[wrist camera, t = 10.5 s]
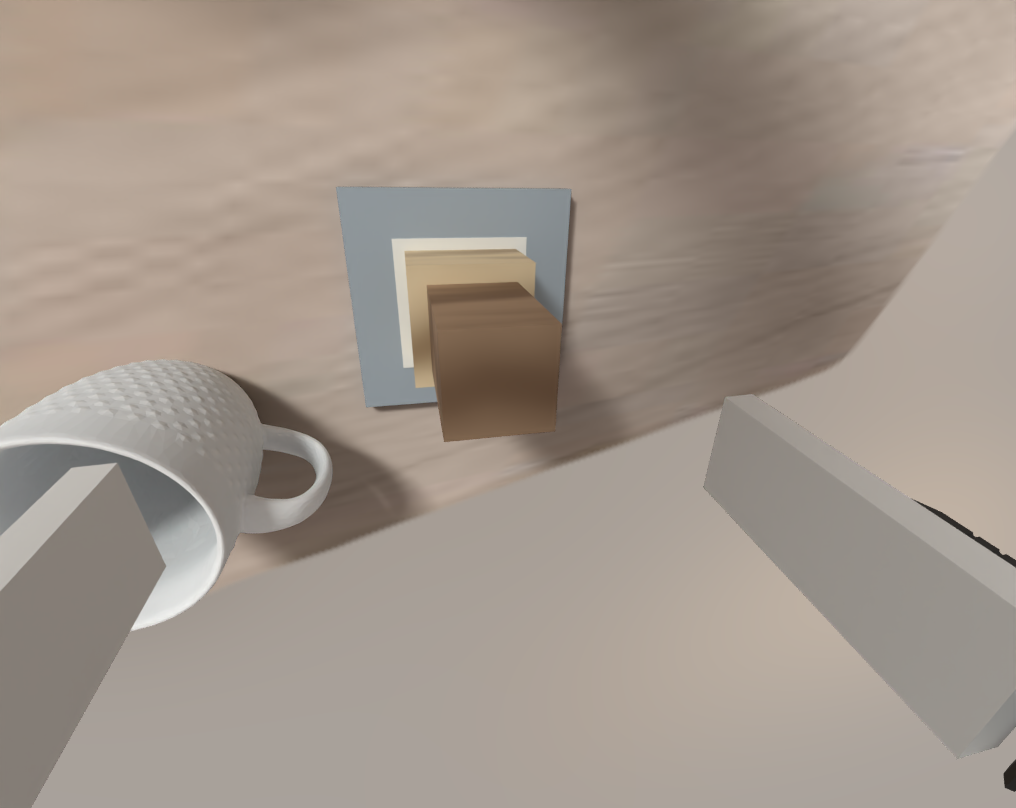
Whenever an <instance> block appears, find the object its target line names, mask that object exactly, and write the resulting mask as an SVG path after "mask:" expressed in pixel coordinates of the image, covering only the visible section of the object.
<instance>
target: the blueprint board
mask: <svg viewBox="0 0 1016 808" xmlns="http://www.w3.org/2000/svg"><path fill="white" fill-rule="evenodd" d="M336 190H337V198H338V205H339V212H340V220H341V227H342V234H343V242H344V249H345V256H346V264H347V271H348V278H349V286H350V293H351V300H352V307H353V315H354V322H355V329H356V337H357V344H358V351H359V359H360V366H361V373H362V381H363V388H364V395H365V403H366V407H377V406H390V405H403V404H415V403H428V402H437V397H436V391H435V387H423V388H416V387H415V375H414V363H413V351H412V338H411V326H410V314H409V302H408V289H407V277H406V265H405V252H404V251H420V250H478V249H517V250H518V251H520V252H521V253H522V254H524V255H525V256H527V257H528V258H530V259H531V260H533V261H534V262H536V270H535V295H534V298H535V299H536V300H537V301H538V302H539V303H540V304H542V305H543V306H544V307H545V308H546V309H547V310H548V311H549V312H550V313H551V314H552V315H553V316H554V317H555V318H556V319H557V320H558V321H559V322H560V323H562V320H563V305H564V290H565V276H566V261H567V246H568V232H569V217H570V202H571V189H549V188H428V187H336ZM561 334H562V333H561ZM560 349H561V348H560ZM559 364H560V363H559Z"/></svg>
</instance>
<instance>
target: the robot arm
mask: <svg viewBox="0 0 1016 808" xmlns="http://www.w3.org/2000/svg"><path fill="white" fill-rule="evenodd" d="M704 489H705V490H706V491H707V492H708V493H709V494H710V495H711V496H712V497H713V498H714V499H715V500H716V502H717V503H718V504H719V505H720V506H721V507H722V508H723V509H724V510H725V511H726V512H727V513H728V514H729V515H730V517H731V518H732V519H733V520H734V521H735V522H736V523H737V524H738V525H739V526H740V527H741V528H742V529H743V530H744V531H745V533H746V534H747V535H748V536H749V537H750V538H751V539H752V540H753V541H754V542H755V543H756V544H757V545H758V546H759V547H760V549H761V550H762V551H763V552H764V553H765V554H766V555H767V556H768V557H769V558H770V559H771V560H772V561H773V562H774V563H775V565H776V566H778V568H779V569H780V570H781V571H782V572H783V573H784V574H785V575H786V576H787V577H788V579H790V581H791V582H792V583H793V584H794V585H795V586H796V587H797V588H798V589H799V590H800V591H801V592H802V593H803V595H804V596H805V597H806V598H807V599H808V600H809V601H810V602H811V603H812V604H813V605H814V606H815V607H816V608H817V609H818V611H820V613H821V614H822V615H823V616H824V617H825V618H826V619H827V620H828V621H829V622H830V623H831V624H832V625H833V627H834V628H835V629H836V630H837V631H838V632H839V633H840V634H841V635H842V636H843V637H844V638H845V639H846V640H847V641H848V643H849V644H850V645H851V646H852V647H853V648H854V649H855V650H856V651H857V652H858V653H859V654H860V655H861V657H862V658H863V659H864V660H865V661H866V662H867V663H868V664H869V665H870V666H871V667H872V668H873V669H874V670H875V671H876V673H877V674H878V675H879V676H880V677H881V678H882V679H883V680H884V681H885V682H886V683H887V684H888V685H889V686H890V687H891V689H892V690H893V691H894V692H895V693H896V694H897V695H898V696H899V697H900V698H901V699H902V700H903V701H904V702H905V703H906V704H907V706H908V707H909V708H910V709H911V710H912V711H913V712H914V713H915V714H916V715H917V716H918V717H919V718H920V719H921V721H922V722H923V723H924V724H925V725H926V726H927V727H928V728H929V729H930V730H931V731H932V732H933V733H934V735H936V737H937V738H938V739H939V740H940V741H941V742H942V743H943V744H944V745H945V746H946V747H947V748H948V749H949V750H950V752H951V753H952V754H953V755H954V756H955V757H956V758H957V759H959V758H962V757H965V756H969V755H972V754H975V753H979V752H982V751H985V750H989V749H992V748H995V747H998V746H999V745H1000V744H1001V743H1002V741H1003V740H1004V739H1005V738H1006V737H1007V736H1008V735H1009V734H1010V733H1011V731H1012V730H1013V729H1014V728H1015V727H1016V560H1015V559H1013V558H1011V557H1010V556H1008V555H1006V554H1005V555H1002V554H1001V553H1000V552H999V549H998V548H996V547H995V546H993V545H991V544H990V543H988V542H987V541H985V540H984V539H982V538H981V537H975V536H973V532H971V531H970V530H968V529H967V528H965V527H964V526H962V525H960V524H959V523H958V522H956V521H954V520H953V519H951V518H950V517H948V516H947V515H945V514H943V513H942V512H940V511H938V510H936V509H933V508H931V507H929V506H927V505H924V504H922V503H920V502H918V501H915V500H913V499H911V498H909V497H908V496H906V495H905V494H903V493H902V492H900V491H899V490H897V489H896V488H894V487H893V486H891V485H890V484H888V483H887V482H885V481H884V480H882V479H881V478H879V477H878V476H876V475H875V474H873V473H871V472H870V471H868V470H867V469H865V468H864V467H862V466H861V465H859V464H858V463H856V462H855V461H853V460H852V459H850V458H849V457H847V456H846V455H844V454H843V453H841V452H840V451H838V450H837V449H835V448H834V447H832V446H831V445H829V444H827V443H826V442H824V441H823V440H821V439H820V438H818V437H817V436H815V435H814V434H812V433H811V432H809V431H808V430H806V429H805V428H803V427H802V426H800V425H799V424H797V423H795V422H794V421H793V420H791V419H790V418H788V417H786V416H785V415H784V414H782V413H781V412H779V411H778V410H776V409H775V408H773V407H771V406H770V405H768V404H767V403H765V402H764V401H762V400H761V399H759V398H758V397H756V396H755V395H753V394H748V395H739V396H730V397H725V399H724V403H723V407H722V412H721V416H720V420H719V424H718V428H717V433H716V437H715V441H714V445H713V449H712V453H711V458H710V462H709V466H708V470H707V474H706V478H705V483H704ZM165 568H166V564H165V562H164V560H163V558H162V556H161V554H160V552H159V550H158V548H157V545H156V543H155V541H154V539H153V537H152V535H151V533H150V531H149V529H148V526H147V524H146V522H145V520H144V518H143V516H142V514H141V512H140V510H139V507H138V505H137V503H136V501H135V499H134V497H133V495H132V493H131V491H130V488H129V486H128V484H127V482H126V480H125V478H124V476H123V474H122V472H121V469H120V467H119V465H118V463H111V464H102V465H92V466H83V467H74V468H71V469H70V470H69V471H68V472H67V473H66V474H65V475H64V476H63V477H61V478H60V479H59V480H58V481H57V482H56V483H55V484H54V485H53V486H52V487H51V488H50V489H49V490H48V491H47V492H46V493H45V494H44V495H43V496H42V497H41V498H40V499H39V500H37V501H36V502H35V503H34V504H33V505H32V506H31V507H30V508H29V509H28V510H27V511H26V512H25V513H24V514H23V515H22V516H21V517H20V518H19V519H18V520H17V521H16V522H15V523H13V524H12V525H11V526H10V527H9V528H8V529H7V530H6V531H5V532H4V533H3V534H2V535H1V536H0V808H31V807H32V805H33V803H34V802H35V800H36V798H37V796H38V794H39V793H40V791H41V789H42V787H43V786H44V784H45V782H46V780H47V778H48V777H49V775H50V773H51V771H52V770H53V768H54V766H55V764H56V762H57V761H58V759H59V757H60V755H61V753H62V752H63V750H64V748H65V746H66V744H67V743H68V741H69V739H70V737H71V735H72V733H73V732H74V730H75V728H76V726H77V725H78V723H79V721H80V720H81V718H82V716H83V714H84V712H85V711H86V709H87V707H88V705H89V703H90V702H91V700H92V698H93V696H94V694H95V693H96V691H97V689H98V687H99V686H100V684H101V682H102V680H103V678H104V677H105V675H106V673H107V671H108V669H109V668H110V666H111V664H112V662H113V661H114V659H115V657H116V655H117V653H118V651H119V650H120V648H121V646H122V645H123V643H124V641H125V639H126V637H127V636H128V634H129V632H130V630H131V628H132V627H133V625H134V623H135V621H136V620H137V618H138V616H139V614H140V612H141V611H142V609H143V607H144V605H145V603H146V602H147V600H148V598H149V596H150V595H151V593H152V591H153V589H154V587H155V586H156V584H157V582H158V580H159V578H160V577H161V575H162V573H163V571H164V570H165ZM1004 784H1005V788H1007V789H1009V790H1012V791H1014V792H1015V791H1016V760H1015V761H1014V762H1013V763H1012V764H1011V765H1010V766H1009V767H1008V769H1007V770H1006V771H1005V772H1004Z"/></svg>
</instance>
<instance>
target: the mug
mask: <svg viewBox="0 0 1016 808" xmlns="http://www.w3.org/2000/svg"><path fill="white" fill-rule="evenodd" d="M263 449H264V450H272V451H279V452H284V453H288V454H292V455H295V456H298V457H301V458H303V459H305V460H307V461H308V462H309V463H310V464H311V465H312V466H313V467H314V470H315V473H316V481H315V483H314V484H313V485H312V487H311V488H310V489H309V490H308V491H306V492H305V493H303V494H302V495H299V496H297V497H294V498H290V499H270V498H263V497H259V496H256V495H254V494H255V489H256V487H257V485H258V481H259V475H260V472H261V463H262V459H263ZM111 463H118V465H119V467H120V469H121V472H122V474H123V476H124V478H125V480H126V482H127V484H128V486H129V488H130V491H131V493H132V495H133V497H134V499H135V501H136V503H137V505H138V507H139V510H140V512H141V514H142V516H143V518H144V520H145V522H146V524H147V526H148V529H149V531H150V533H151V535H152V537H153V539H154V541H155V543H156V545H157V548H158V550H159V552H160V554H161V556H162V558H163V560H164V562H165V564H166V568H165V570H164V571H163V573H162V575H161V577H160V578H159V580H158V582H157V584H156V586H155V587H154V589H153V591H152V593H151V595H150V596H149V598H148V600H147V602H146V603H145V605H144V607H143V609H142V611H141V612H140V614H139V616H138V618H137V620H136V621H135V623H134V625H133V627H132V628H131V630H130V631H133V630H138V629H143V628H146V627H150V626H153V625H156V624H159V623H161V622H164V621H167V620H169V619H171V618H173V617H175V616H177V615H179V614H181V613H183V612H184V611H186V610H188V609H189V608H191V607H192V606H193V605H195V604H196V603H197V602H198V601H200V600H201V599H202V598H203V597H204V596H205V595H206V594H207V593H208V592H209V590H210V589H211V588H212V587H213V585H214V584H215V583H216V581H217V579H218V578H219V576H220V574H221V572H222V570H223V568H224V566H225V564H226V561H227V559H228V557H229V555H230V552H231V551H232V549H233V548H234V546H235V542H236V539H237V537H238V535H239V533H256V534H257V533H267V532H273V531H278V530H282V529H285V528H288V527H291V526H294V525H296V524H299V523H300V522H302V521H304V520H305V519H307V518H308V517H309V516H310V515H312V514H313V513H314V512H315V511H316V510H317V509H318V508H319V507H320V505H321V504H322V503H323V501H324V500H325V498H326V496H327V494H328V491H329V488H330V485H331V481H332V473H333V468H332V461H331V457H330V455H329V453H328V451H327V449H326V448H325V447H324V446H323V445H322V443H321V442H319V441H318V440H316V439H314V438H313V437H311V436H309V435H306V434H303V433H301V432H298V431H294V430H291V429H287V428H282V427H277V426H272V425H266V424H262V423H260V420H259V418H258V413H257V411H256V409H255V407H254V405H253V403H252V401H251V399H250V398H249V397H248V395H247V394H246V393H245V392H244V390H243V389H242V388H241V387H240V386H239V385H238V384H237V383H236V382H234V381H233V380H232V379H231V378H229V377H228V376H226V375H224V374H223V373H221V372H219V371H217V370H215V369H213V368H210V367H207V366H204V365H201V364H197V363H193V362H186V361H180V360H165V359H162V360H156V361H151V360H146V361H143V362H134V363H130V364H128V365H124V366H116V367H114V368H112V369H110V370H105V371H100V372H98V373H96V374H94V375H92V376H88V377H84V378H82V379H81V380H79V381H77V382H76V383H73V384H71V385H67V386H64V387H63V388H61V389H60V390H59V391H58V392H56V393H54V394H51V395H49V396H46V397H45V398H44V399H43V400H41V401H40V402H38V403H37V404H35V405H32V406H30V407H28V408H26V409H25V410H24V411H23V412H22V413H20V414H19V415H18V416H16V417H14V418H13V419H11V420H8V421H6V422H5V423H3V424H2V425H1V426H0V536H1V535H2V534H3V533H4V532H5V531H6V530H7V529H8V528H9V527H10V526H11V525H12V524H13V523H15V522H16V521H17V520H18V519H19V518H20V517H21V516H22V515H23V514H24V513H25V512H26V511H27V510H28V509H29V508H30V507H31V506H32V505H33V504H34V503H35V502H36V501H37V500H39V499H40V498H41V497H42V496H43V495H44V494H45V493H46V492H47V491H48V490H49V489H50V488H51V487H52V486H53V485H54V484H55V483H56V482H57V481H58V480H59V479H60V478H61V477H63V476H64V475H65V474H66V473H67V472H68V471H69V470H70V469H71V468H74V467H83V466H92V465H102V464H111Z"/></svg>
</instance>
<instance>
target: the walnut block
mask: <svg viewBox="0 0 1016 808" xmlns="http://www.w3.org/2000/svg"><path fill="white" fill-rule="evenodd" d="M427 300H428V315H429V330H430V345H431V360H432V373H433V379H434V385H435V391H436V397H437V403H438V409H439V414H440V420H441V426H442V432H443V438H444V442H450V441H460V440H470V439H480V438H491V437H501V436H511V435H521V434H531V433H542V432H552V431H555V425H556V410H557V394H558V379H559V363H560V348H561V333H562V323H560V322H559V321H558V320H557V319H556V318H555V317H554V316H553V315H552V314H551V313H550V312H549V311H548V310H547V309H546V308H545V307H544V306H543V305H542V304H540V303H539V302H538V301H537V300H536V299H535V298H534V297H533V296H532V295H531V294H530V293H529V292H528V291H527V290H526V289H525V288H524V287H523V286H522V285H520V284H519V283H518V282H500V283H471V284H441V285H427Z"/></svg>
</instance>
